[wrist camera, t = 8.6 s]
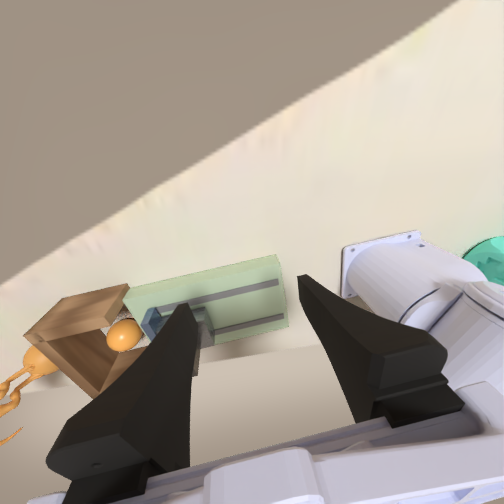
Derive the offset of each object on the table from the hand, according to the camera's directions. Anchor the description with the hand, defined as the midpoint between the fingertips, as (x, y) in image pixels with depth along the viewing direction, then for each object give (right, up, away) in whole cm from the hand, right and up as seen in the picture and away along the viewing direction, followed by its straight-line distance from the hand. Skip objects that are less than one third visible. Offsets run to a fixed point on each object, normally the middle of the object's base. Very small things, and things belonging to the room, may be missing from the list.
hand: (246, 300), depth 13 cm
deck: (-4, -3, +12) cm, 14 cm away
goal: (-16, -6, +12) cm, 21 cm away
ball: (-14, -7, +10) cm, 19 cm away
